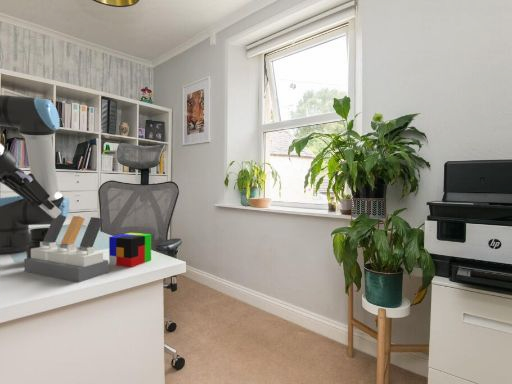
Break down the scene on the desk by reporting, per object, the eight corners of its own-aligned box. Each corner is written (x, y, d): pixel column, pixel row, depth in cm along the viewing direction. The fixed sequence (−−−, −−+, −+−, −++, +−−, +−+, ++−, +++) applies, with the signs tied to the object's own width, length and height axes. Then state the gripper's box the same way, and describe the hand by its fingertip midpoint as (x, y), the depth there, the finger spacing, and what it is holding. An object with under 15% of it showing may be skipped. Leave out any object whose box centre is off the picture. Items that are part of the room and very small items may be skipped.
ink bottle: (39, 266, 98) (39, 231, 98) (19, 264, 100) (18, 230, 100) (63, 258, 108) (63, 227, 108) (44, 257, 110) (44, 226, 109)
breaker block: (56, 263, 102) (55, 213, 101) (108, 272, 92) (108, 217, 92) (24, 271, 92) (23, 216, 92) (78, 282, 83) (78, 221, 82)
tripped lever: (64, 248, 93) (78, 218, 97) (70, 249, 92) (84, 218, 96) (58, 247, 91) (73, 216, 96) (65, 248, 90) (79, 216, 94)
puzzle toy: (109, 264, 101) (109, 237, 101) (130, 258, 110) (130, 232, 110) (131, 267, 98) (131, 239, 97) (151, 260, 107) (151, 234, 107)
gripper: (-37, 166, 73) (35, 222, 89) (-7, 166, 68) (62, 225, 84) (-11, 148, 78) (52, 205, 94) (18, 146, 73) (79, 206, 89)
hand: (57, 214), depth 89 cm, fingers closed
